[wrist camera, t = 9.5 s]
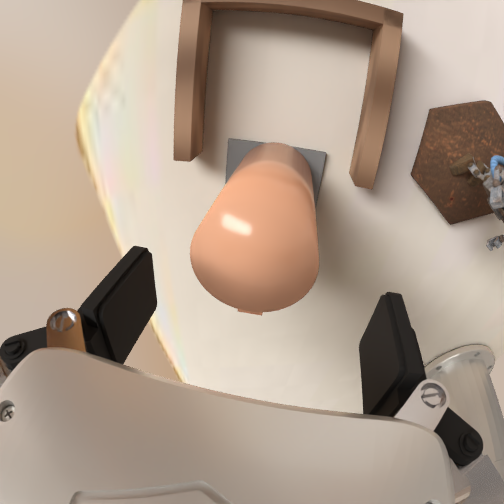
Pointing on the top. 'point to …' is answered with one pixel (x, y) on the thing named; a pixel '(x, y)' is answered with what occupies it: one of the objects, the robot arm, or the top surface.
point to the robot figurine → (463, 162)
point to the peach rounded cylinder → (260, 233)
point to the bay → (305, 4)
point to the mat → (242, 147)
